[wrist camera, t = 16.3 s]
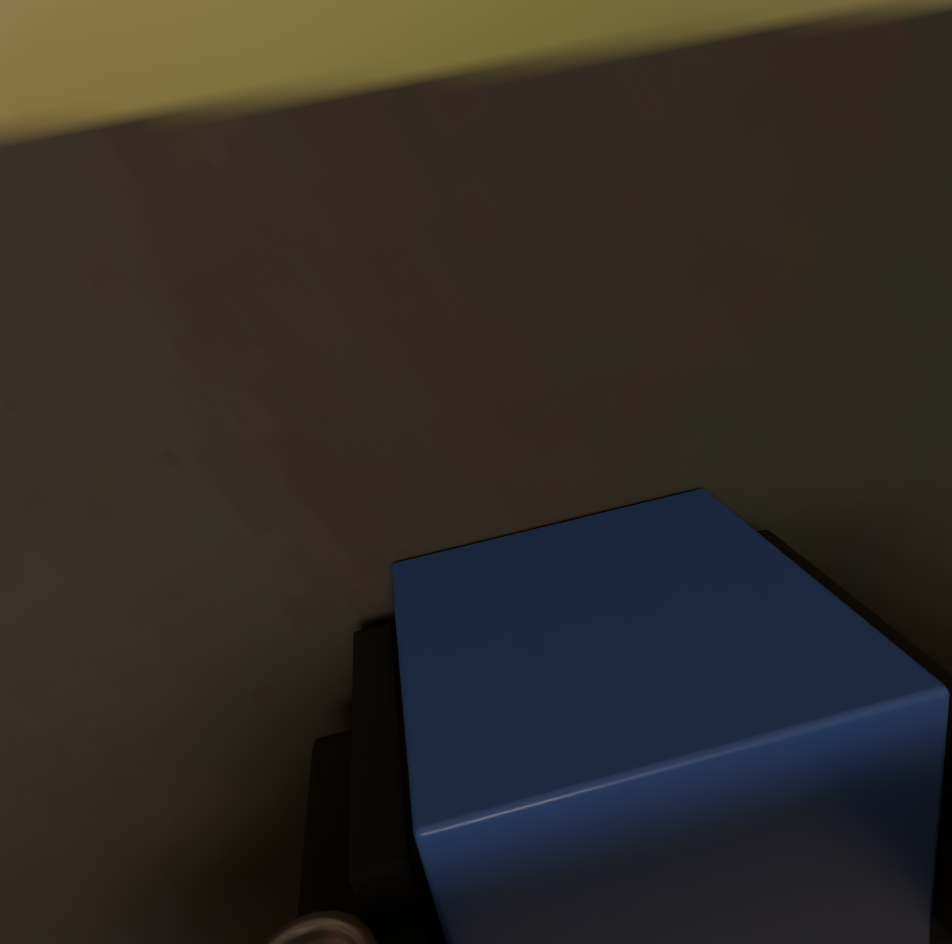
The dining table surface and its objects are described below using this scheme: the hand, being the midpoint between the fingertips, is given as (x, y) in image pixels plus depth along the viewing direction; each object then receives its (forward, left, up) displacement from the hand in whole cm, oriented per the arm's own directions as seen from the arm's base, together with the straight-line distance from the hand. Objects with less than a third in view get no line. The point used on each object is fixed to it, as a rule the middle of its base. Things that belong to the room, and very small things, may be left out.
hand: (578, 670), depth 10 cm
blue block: (0, 0, 0) cm, 0 cm away
